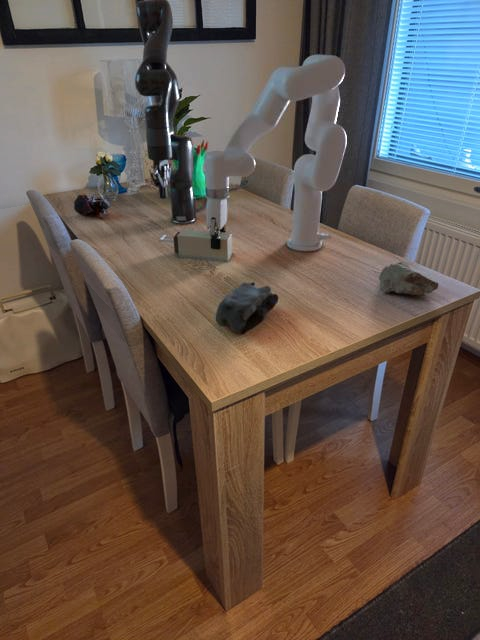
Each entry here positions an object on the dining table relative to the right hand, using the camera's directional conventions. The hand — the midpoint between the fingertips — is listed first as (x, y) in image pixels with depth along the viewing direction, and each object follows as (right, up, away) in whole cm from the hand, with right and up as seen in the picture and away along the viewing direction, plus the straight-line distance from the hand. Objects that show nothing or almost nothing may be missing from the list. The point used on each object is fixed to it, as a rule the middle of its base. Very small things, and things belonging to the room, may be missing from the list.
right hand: (218, 244), depth 151 cm
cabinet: (-5, -3, +3) cm, 6 cm away
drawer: (-10, -2, +4) cm, 11 cm away
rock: (+10, -26, -33) cm, 43 cm away
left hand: (-18, +15, -4) cm, 24 cm away
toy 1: (-56, +18, +38) cm, 70 cm away
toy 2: (-17, +35, +65) cm, 76 cm away
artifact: (+56, -16, -17) cm, 61 cm away
